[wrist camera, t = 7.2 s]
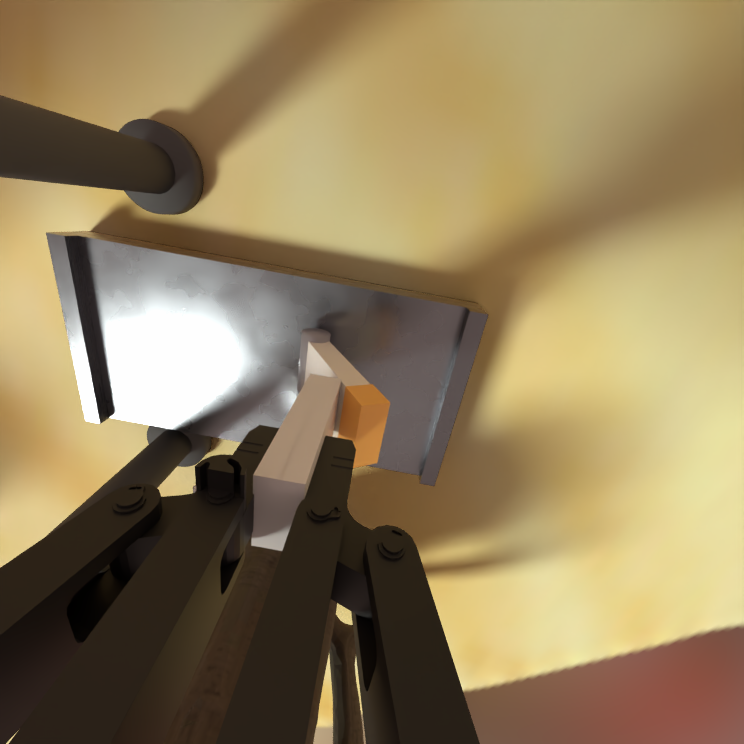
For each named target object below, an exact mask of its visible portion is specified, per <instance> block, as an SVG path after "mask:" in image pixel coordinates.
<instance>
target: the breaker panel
mask: <svg viewBox="0 0 744 744" xmlns="http://www.w3.org/2000/svg"><path fill="white" fill-rule="evenodd" d="M46 235H47V240H48V245H49V249H50V254H51V259H52V264H53V268H54V273H55V278H56V283H57V287H58V292H59V297H60V302H61V307H62V311H63V316H64V321H65V326H66V330H67V335H68V340H69V345H70V349H71V354H72V359H73V364H74V369H75V373H76V378H77V383H78V388H79V392H80V397H81V402H82V407H83V412H84V416H85V421H87V422H93V423H98V424H101V423H102V422H104V421H105V420H106V419H108V418H114V419H119V420H124V421H130V422H135V423H140V424H146V425H151V426H157V427H162V428H167V429H173V430H178V431H183V432H189V433H194V434H199V435H205V436H210V437H216V438H221V439H226V440H232V441H237V442H242V441H243V439H244V438H245V436H246V435H247V434H248V432H249V431H251V430H252V429H254V428H256V427H257V426H259V425H264V426H270V427H275V428H280V426H281V425H282V423H283V421H284V419H285V417H286V416H287V414H288V412H289V410H290V409H291V407H292V405H293V403H294V401H295V400H296V398H297V396H298V394H299V393H300V392H298V390H297V381H298V370H299V358H300V347H301V335H302V330H303V329H306V328H318V329H323V330H326V331H328V332H329V333H330V334H331V336H330V343H331V344H332V345H333V346H334V347H335V348H336V349H337V350H338V351H339V352H340V353H341V354H342V355H343V356H344V357H345V358H346V359H347V360H348V361H349V362H350V363H351V365H352V366H353V367H354V368H355V369H356V370H357V371H358V372H359V373H360V374H361V375H362V376H363V377H364V378H365V379H366V380H367V381H368V382H369V383H370V384H373V385H374V386H375V387H376V388H377V389H378V390H379V391H380V392H381V393H382V394H383V395H384V397H385V398H386V399H387V400H388V401H389V402H390V407H389V411H388V416H387V421H386V425H385V430H384V434H383V439H382V443H381V448H380V453H379V457H378V462H377V463H375V464H371V465H366V466H371V467H376V468H382V469H387V470H393V471H398V472H403V473H409V474H414V475H419V480H420V484H425V485H431V486H435V482H436V479H437V476H438V473H439V470H440V467H441V463H442V460H443V457H444V454H445V451H446V448H447V444H448V441H449V438H450V435H451V432H452V429H453V425H454V422H455V419H456V416H457V413H458V409H459V406H460V403H461V400H462V397H463V394H464V390H465V387H466V384H467V381H468V378H469V375H470V371H471V368H472V365H473V362H474V359H475V356H476V352H477V349H478V346H479V343H480V340H481V337H482V333H483V330H484V327H485V324H486V321H487V318H488V314H487V313H486V311H485V310H484V309H483V308H482V307H481V306H480V305H479V304H478V303H474V302H469V301H464V300H458V299H453V298H447V297H442V296H437V295H431V294H426V293H420V292H415V291H410V290H404V289H399V288H394V287H388V286H383V285H377V284H372V283H367V282H361V281H356V280H350V279H345V278H340V277H334V276H329V275H323V274H318V273H313V272H307V271H302V270H296V269H291V268H286V267H280V266H275V265H269V264H264V263H259V262H253V261H248V260H242V259H237V258H232V257H226V256H221V255H215V254H210V253H205V252H199V251H194V250H188V249H183V248H178V247H172V246H167V245H161V244H156V243H151V242H145V241H140V240H134V239H129V238H124V237H118V236H113V235H108V234H102V233H97V232H91V231H79V232H49V233H46Z"/></svg>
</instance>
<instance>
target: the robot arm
mask: <svg viewBox="0 0 744 744" xmlns="http://www.w3.org/2000/svg"><path fill="white" fill-rule="evenodd" d="M341 380H342V379H338V378H333V377H327V376H322V375H316V374H311V373H310V375H309V377H308V378H307V380H306V382H305V384H304V385H303V387H302V389H301V391H300V393H299V394H298V396H297V398H296V400H295V401H294V403H293V405H292V407H291V409H290V410H289V412H288V414H287V416H286V417H285V419H284V421H283V423H282V425H281V426H280V428H275V427H270V426H264V425H259V426H257V427H256V428H254V429H252V430H251V431H249V432H248V434H247V435H246V436H245V438H244V439H243V441H242V443H241V444H240V445H239V447H238V448H237V451H235V452H234V454H233V455H216V456H211V457H209V458H207V459H204V460H202V461H201V462H200V463H198V464H197V465H196V466H195V476H196V491H195V493H192V494H187V495H180V496H167V497H161V495H160V492H159V490H158V489H157V488H156V487H154V486H153V485H149V484H144V483H141V484H131V485H128V486H124V487H121V488H119V489H117V490H115V491H113V492H111V493H109V494H108V495H106V496H105V497H104V498H102V499H101V500H99V501H98V502H96V503H95V504H93V505H92V506H90V507H89V508H87V509H86V510H84V511H83V512H82V513H80V514H79V515H77V516H76V517H74V518H73V519H71V520H70V521H68V522H67V523H65V524H64V525H62V526H61V527H60V528H58V529H57V530H55V531H54V532H52V533H51V534H49V535H48V536H46V537H45V538H43V539H42V540H41V541H39V542H38V543H36V544H35V545H33V546H32V547H30V548H29V549H27V550H26V551H24V552H23V553H21V554H20V555H19V556H17V557H16V558H14V559H13V560H11V561H10V562H8V563H7V564H5V565H4V566H2V567H1V568H0V744H6V743H7V742H8V741H9V739H10V738H11V737H12V736H13V735H14V734H15V733H16V732H17V731H18V730H19V731H18V732H17V733H16V735H15V736H14V737H13V739H12V740H11V741H10V743H9V744H163V742H164V740H165V738H166V736H167V733H168V731H169V729H170V727H171V725H172V722H173V720H174V718H175V716H176V713H177V711H178V709H179V707H180V704H181V702H182V700H183V698H184V695H185V693H186V691H187V689H188V686H189V684H190V682H191V680H192V678H193V675H194V673H195V671H196V669H197V666H198V664H199V662H200V660H201V657H202V655H203V653H204V651H205V648H206V646H207V644H208V642H209V639H210V637H211V635H212V633H213V631H214V628H215V626H216V624H217V622H218V619H219V617H220V615H221V613H222V610H223V608H224V606H225V604H226V601H227V599H228V597H229V595H230V592H231V590H232V588H233V586H234V584H235V581H236V579H237V577H238V575H239V572H240V570H241V568H242V566H243V563H244V559H245V547H246V545H247V543H248V541H249V539H250V537H251V534H252V539H251V546H257V547H263V548H268V549H273V550H279V551H282V553H281V556H280V559H279V562H278V565H277V567H276V570H275V573H274V576H273V579H272V582H271V585H270V588H269V591H268V594H267V596H266V599H265V602H264V605H263V608H262V611H261V614H260V617H259V620H258V623H257V625H256V628H255V631H254V634H253V637H252V640H251V643H250V646H249V649H248V651H247V654H246V657H245V660H244V663H243V666H242V669H241V672H240V675H239V678H238V680H237V683H236V686H235V689H234V692H233V695H232V698H231V701H230V704H229V707H228V709H227V712H226V715H225V718H224V721H223V724H222V727H221V730H220V733H219V736H218V738H217V741H216V744H305V741H306V736H307V730H308V724H309V719H310V713H311V707H312V701H313V696H314V690H315V684H316V679H317V673H318V667H319V661H320V656H321V650H322V644H323V639H324V633H325V627H326V621H327V616H328V610H329V604H330V599H331V600H333V601H335V602H337V603H338V604H340V605H342V606H343V607H345V608H347V609H349V610H350V611H352V621H353V630H354V639H355V648H356V657H357V666H358V675H359V684H360V693H361V702H362V711H363V719H364V729H365V737H366V744H480V743H479V740H478V737H477V734H476V731H475V728H474V724H473V722H472V719H471V715H470V712H469V709H468V706H467V703H466V700H465V697H464V693H463V690H462V687H461V684H460V681H459V678H458V675H457V672H456V668H455V665H454V662H453V659H452V656H451V653H450V650H449V647H448V643H447V640H446V637H445V634H444V631H443V628H442V625H441V622H440V619H439V615H438V612H437V609H436V606H435V603H434V600H433V597H432V594H431V590H430V587H429V584H428V581H427V578H426V575H425V572H424V569H423V566H422V562H421V559H420V556H419V553H418V550H417V547H416V545H415V543H414V541H413V539H412V537H411V536H410V535H408V534H407V533H406V532H405V531H404V530H402V529H400V528H398V527H395V526H388V525H385V526H380V527H377V528H375V529H374V530H373V531H372V530H370V529H368V528H366V527H364V526H362V525H361V524H359V523H357V522H356V521H355V520H354V519H353V518H352V516H351V515H350V513H349V511H348V508H347V499H348V493H349V488H350V482H351V476H352V471H353V465H354V459H355V454H356V448H355V446H354V444H353V441H352V440H348V439H342V438H336V437H333V433H334V429H335V422H336V415H337V408H338V401H339V394H340V387H341Z"/></svg>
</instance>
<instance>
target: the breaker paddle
mask: <svg viewBox="0 0 744 744" xmlns="http://www.w3.org/2000/svg"><path fill="white" fill-rule="evenodd" d="M330 336H331V334H330V333H329V332H328V331H326V330H323V329H318V328H306V329H303V330H302V335H301V347H300V358H299V370H298V381H297V390H298V392H300V391H301V389H302V387H303V385H304V384H305V382H306V380H307V378H308V377H309V375H310V373H311V374H316V375H322V376H327V377H333V378H338V379H342V380H341V387H340V394H339V401H338V408H337V415H336V422H335V429H334V433H333V437H336V438H342V439H348V440H352V441H353V444H354V446H355V448H356V454H355V459H354V465H353V468H356V467H361V466H366V465H371V464H375V463H377V462H378V457H379V453H380V448H381V443H382V439H383V434H384V430H385V425H386V421H387V416H388V411H389V407H390V402H389V401H388V400H387V399H386V398H385V397H384V395H383V394H382V393H381V392H380V391H379V390H378V389H377V388H376V387H375V386H374V385H373V384H370V383H369V382H368V381H367V380H366V379H365V378H364V377H363V376H362V375H361V374H360V373H359V372H358V371H357V370H356V369H355V368H354V367H353V366H352V365H351V363H350V362H349V361H348V360H347V359H346V358H345V357H344V356H343V355H342V354H341V353H340V352H339V351H338V350H337V349H336V348H335V347H334V346H333V345H332V344H331V343H330Z"/></svg>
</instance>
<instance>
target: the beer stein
mask: <svg viewBox="0 0 744 744" xmlns="http://www.w3.org/2000/svg"><path fill="white" fill-rule="evenodd" d="M251 539H252V534H251V537H250V539H249V541H248V543H247V545H246V547H245V559H244V563H243V566H242V568H241V570H240V572H239V575H238V577H237V579H236V581H235V584H234V586H233V588H232V590H231V592H230V595H229V597H228V599H227V601H226V604H225V606H224V608H223V610H222V613H221V615H220V617H219V619H218V622H217V624H216V626H215V628H214V631H213V633H212V635H211V637H210V639H209V642H208V644H207V646H206V648H205V651H204V653H203V655H202V657H201V660H200V662H199V664H198V666H197V669H196V671H195V673H194V675H193V678H192V680H191V682H190V684H189V686H188V689H187V691H186V693H185V695H184V698H183V700H182V702H181V704H180V707H179V709H178V711H177V713H176V716H175V718H174V720H173V722H172V725H171V727H170V729H169V731H168V733H167V736H166V738H165V740H164V742H163V744H216V741H217V738H218V736H219V733H220V730H221V727H222V724H223V721H224V718H225V715H226V712H227V709H228V707H229V704H230V701H231V698H232V695H233V692H234V689H235V686H236V683H237V680H238V678H239V675H240V672H241V669H242V666H243V663H244V660H245V657H246V654H247V651H248V649H249V646H250V643H251V640H252V637H253V634H254V631H255V628H256V625H257V623H258V620H259V617H260V614H261V611H262V608H263V605H264V602H265V599H266V596H267V594H268V591H269V588H270V585H271V582H272V579H273V576H274V573H275V570H276V567H277V565H278V562H279V559H280V556H281V553H282V551H279V550H273V549H268V548H263V547H257V546H251ZM336 607H337V602H335V601H333V600H331V599H330V604H329V610H328V616H327V621H326V627H325V633H324V639H323V644H322V650H321V656H320V661H319V667H318V673H317V679H316V684H315V690H314V696H313V701H312V707H311V713H310V719H309V724H308V730H307V736H306V741H305V744H313V740H314V734H315V729H316V725H317V720H318V711H319V703H320V698H321V692H322V686H323V680H324V675H325V670H326V665H327V660H328V655H329V653H330V667H331V680H332V693H333V744H364V742H363V729H362V719H361V711H360V703H359V696H358V690H357V684H356V676H355V665H354V664H355V658H356V648H355V639H354V630H353V625H348V624H345V623H343V622H342V621H340V620H339V618H338V617H337V615H336Z"/></svg>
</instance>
